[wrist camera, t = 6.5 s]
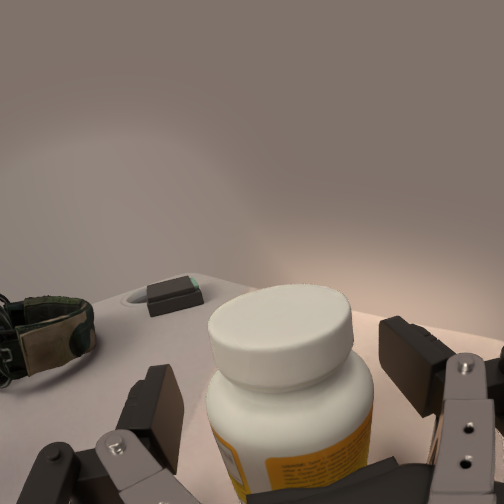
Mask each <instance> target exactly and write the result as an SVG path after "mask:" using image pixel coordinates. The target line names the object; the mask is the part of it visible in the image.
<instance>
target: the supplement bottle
mask: <svg viewBox="0 0 504 504" xmlns="http://www.w3.org/2000/svg"><path fill="white" fill-rule="evenodd" d="M208 332H209V337H210V341H211V345H212V349H213V355H214V361H215V364H216V366H217V368H218V370H217V372H216V373H215V374H214V376H213V378H212V380H211V382H210V384H209V387H208V390H207V394H206V410H207V415H208V419H209V422H210V425H211V428H212V431H213V434H214V437H215V439H216V442H217V445H218V447H219V450H220V453H221V455H222V458H223V461H224V463H225V466H226V468H227V471H228V474H229V476H230V479H231V481H232V484H233V486H234V489H235V491H236V493H237V496H238V498H239V500H240V502H241V504H247V501H246V495H247V494H254V493H261V492H267V491H272V490H278V489H283V488H313V487H324V486H327V485H330V484H332V483H334V482H336V481H338V480H339V479H341V478H343V477H345V476H347V475H349V474H351V473H352V472H354V471H356V470H358V469H360V468H362V467H365V466H367V460H368V452H369V443H370V433H371V423H372V412H373V399H374V385H373V379H372V376H371V373H370V370H369V368H368V367H367V365H366V363H365V362H364V361H363V359H362V358H361V357H360V356H359V355H358V354H357V353H356V352H354V351H353V350H352V347H353V342H354V336H353V326H352V313H351V306H350V303H349V301H348V299H347V298H346V297H345V295H344V294H342V293H341V292H339V291H337V290H335V289H332V288H330V287H325V286H320V285H313V284H290V285H280V286H274V287H269V288H264V289H259V290H256V291H252V292H249V293H246V294H244V295H241V296H239V297H237V298H234V299H232V300H230V301H229V302H227V303H225V304H223V305H222V306H220V307H219V308H218V309H217V310H216V311H215V312H214V313H213V314H212V315H211V317H210V319H209V322H208Z"/></svg>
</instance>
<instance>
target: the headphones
mask: <svg viewBox="0 0 504 504" xmlns="http://www.w3.org/2000/svg"><path fill="white" fill-rule="evenodd" d="M0 301H1V302H4V303H5V305H3V307H4V308H2V307H1V306H0V377H2V376H3V375H4V376H6V377H7V378H9V379H8V381H7V382H6V383H5V384H3V385H1V386H0V388H5V387H7V386H8V385H9V384H10V382H11V381H12V380H16V379H20V378H23V377H25V376H28V377H30V376H31V375H33V374H35V373H38V372H41V371H45V370H48V369H52V368H56V367H60V366H63V365H65V364H66V363H68V362H69V361H71V360H73V359H75V358H78V357H81V356H82V355H83V354H85V353H88V352H90V351H91V350H92V349H93V348H94V346H95V343H96V334H95V327H94V323H93V322H94V312H93V307H92V306H91V304H90V303H89V302H87V301H85V300H83V299H79V298H69V297H61V296H57V297H56V296H49V295H48V296H43V297H36V298H33V297H29V298H25V299H24V301H19V302H13V303H10V302H9V300H8V299H7V298H6V297H5V296H4V295H2V294H0ZM6 302H7V303H6Z"/></svg>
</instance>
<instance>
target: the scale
mask: <svg viewBox="0 0 504 504" xmlns="http://www.w3.org/2000/svg"><path fill="white" fill-rule="evenodd" d="M203 303H204V301H203V297H202V293H201V290H200V289H199V285H198V284H197V282H196V280H195V279H194V277H193V278H189V276H184V277H180V278H176V279H172V280H168V281H164V282H160V283H156V284H152V285H148V286H147V306H148V310H149V313H150V317H153V316H157V315H161V314H165V313H169V312H173V311H177V310H181V309H185V308H188V307H192V306H196V305H200V304H203Z"/></svg>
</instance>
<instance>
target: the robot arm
mask: <svg viewBox="0 0 504 504" xmlns="http://www.w3.org/2000/svg"><path fill="white" fill-rule="evenodd" d="M379 361H380V364H381V367H382V368H383V370H384V371H385V372H386V374H387V375H388V376H389V377H390V378H391V380H392V381H393V382H394V383H395V385H396V386H397V387H398V388H399V389H400V391H401V392H402V393H403V394H404V396H405V397H406V398H407V399H408V401H409V402H410V403H411V404H412V406H413V407H414V408H415V409H416V411H417V412H418V413H419V414H420V416H421V417H422V418H424V417H426V416H429V415H431V414H433V413H434V414H435V415H436V419H435V423H434V429H433V435H432V440H431V445H430V450H429V455H428V459H427V463H426V464H424V463H406V464H398V463H397V461H396V459H395V458H394V456H392V457H390V458H387V459H385V460H382V461H379V462H377V463H374V464H371V465H368V466H365V467H362V468H360V469H358V470H356V471H354V472H352V473H351V474H349V475H347V476H345V477H343V478H341V479H339V480H338V481H336V482H334V483H332V484H330V485H327V486H324V487H313V488H283V489H278V490H272V491H267V492H261V493H254V494H247V495H246V501H247V504H504V483H501V482H496V481H494V471H495V427H496V429H497V430H498V431H499V432H500V433H501V434H502V435H503V437H504V346H503V348H502V350H501V355H500V358H496V359H492V360H488V361H483V359H482V358H481V357H480V356H478V355H476V354H473V353H458V354H456V353H455V352H454V351H452V350H451V349H450V348H449V347H447V346H446V345H445V344H444V343H442V342H441V341H440V340H437V338H436V337H435V336H433V335H431V333H430V332H428V331H427V330H426V329H424V328H423V327H420V326H418V325H415V324H409V323H407V322H406V321H405V320H404V319H402V318H401V317H400V316H394V317H391V318H388V319H384V320H381V321H380V323H379ZM127 398H128V399H127V400H126V403H125V407H124V408H123V410H122V413H121V416H120V418H119V421H118V424H117V426H116V429H115V430H113V431H110V432H108V433H106V434H104V435H103V436H102V437H101V438H100V439H99V440H98V441H97V443H96V447H95V448H94V449H90V450H85V451H80V452H74V450H73V449H72V447H71V446H70V445H69V444H67V443H65V442H54V443H51V444H49V445H47V446H45V447H44V448H43V449H42V450H41V451H40V452H39V454H38V456H37V458H36V460H35V462H34V464H33V467H32V469H31V471H30V473H29V475H28V478H27V480H26V482H25V484H24V487H23V489H22V491H21V494H20V496H19V499H18V501H17V503H16V504H69V501H70V504H201V503H200V502H199V501H198V500H197V499H196V498H195V497H194V496H193V495H192V494H191V493H190V492H189V491H188V490H187V489H186V488H185V487H184V486H183V485H182V484H181V483H180V482H179V481H178V480H177V479H176V478H175V477H174V476H173V475H176V473H177V464H178V456H179V448H180V439H181V432H182V424H183V416H184V403H183V398H182V395H181V392H180V389H179V387H178V384H177V381H176V378H175V376H174V373H173V370H172V367H171V366H170V365H169V364H165V365H157V366H150V367H149V369H148V372H147V375H146V378H145V380H139V381H138V382H137V383H136V384H135V385H134V386H133V387H132V388H131V390H130V392H129V395H128V397H127Z"/></svg>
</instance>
